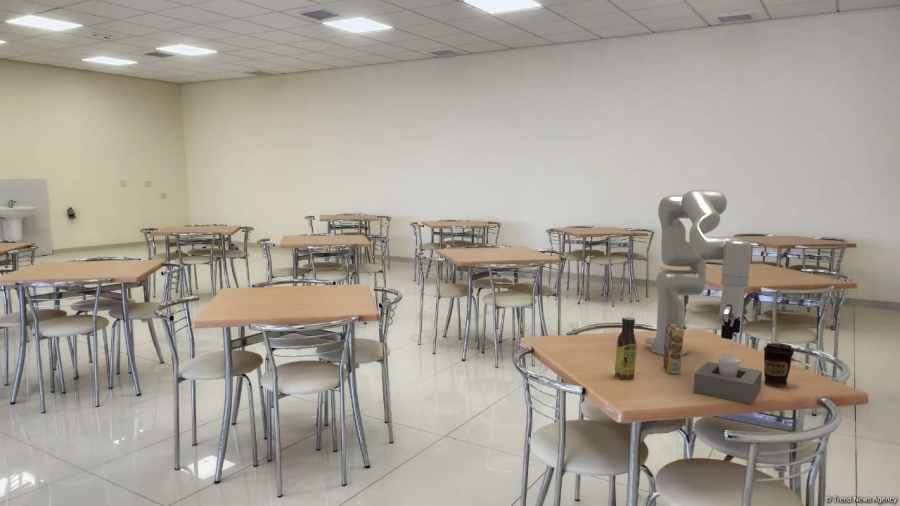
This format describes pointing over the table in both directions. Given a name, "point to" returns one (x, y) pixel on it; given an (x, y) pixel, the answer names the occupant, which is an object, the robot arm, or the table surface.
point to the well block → (728, 383)
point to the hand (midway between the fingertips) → (730, 335)
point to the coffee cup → (777, 363)
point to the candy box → (673, 348)
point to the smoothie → (728, 365)
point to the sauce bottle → (626, 350)
